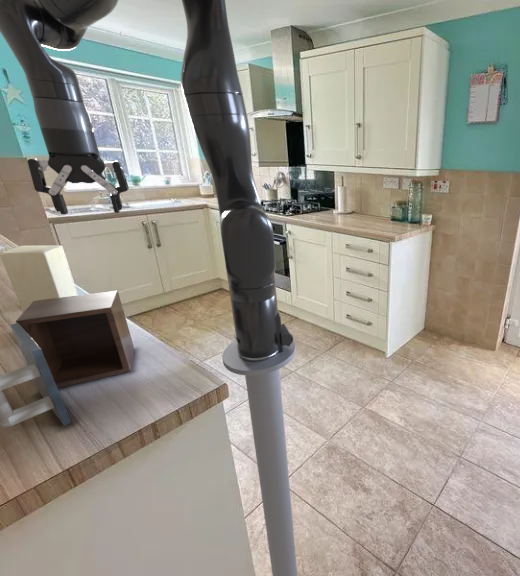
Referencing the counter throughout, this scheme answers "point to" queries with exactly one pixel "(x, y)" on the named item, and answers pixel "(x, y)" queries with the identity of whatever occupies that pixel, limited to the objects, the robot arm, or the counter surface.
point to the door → (43, 379)
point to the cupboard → (81, 336)
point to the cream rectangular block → (38, 273)
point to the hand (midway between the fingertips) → (92, 213)
